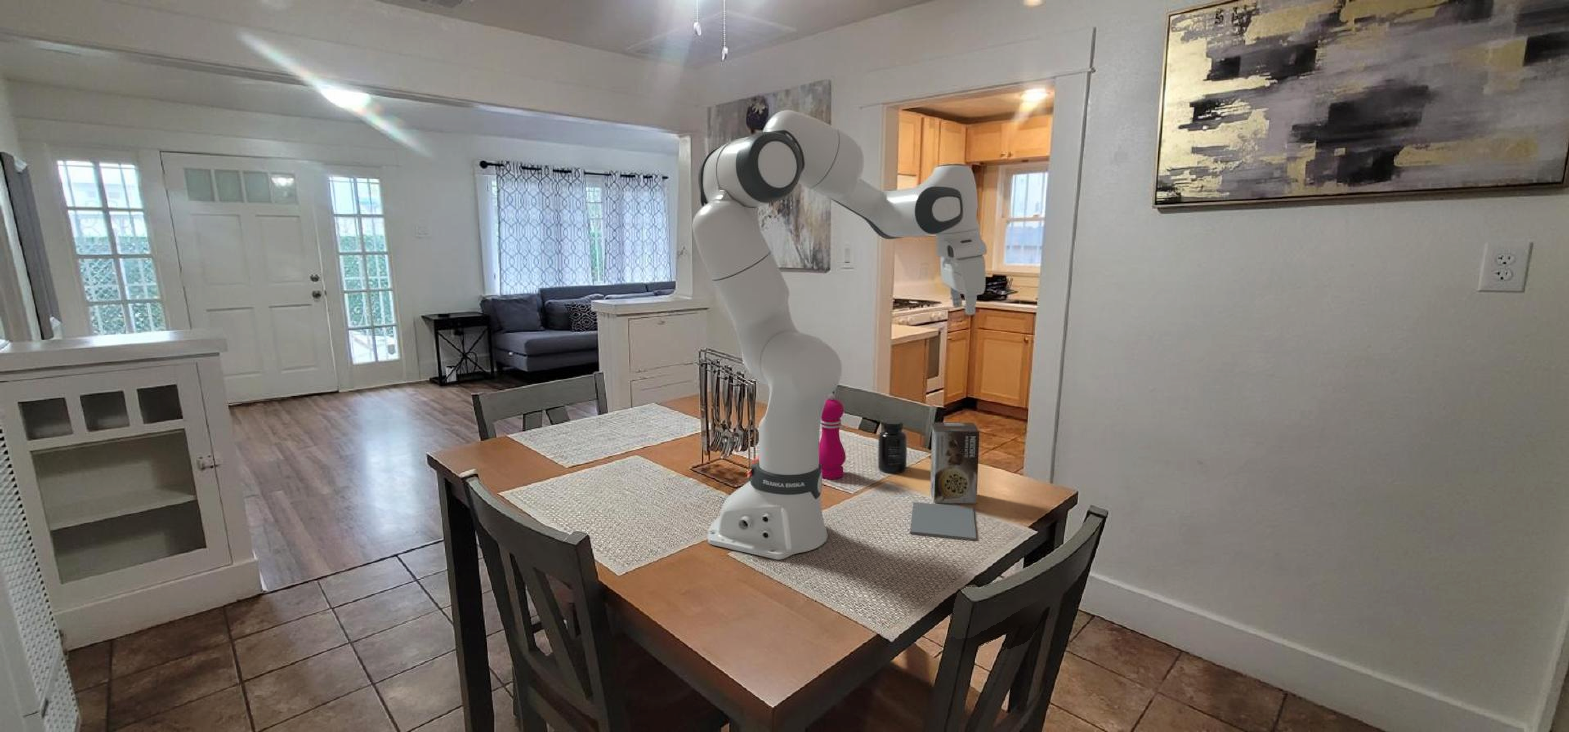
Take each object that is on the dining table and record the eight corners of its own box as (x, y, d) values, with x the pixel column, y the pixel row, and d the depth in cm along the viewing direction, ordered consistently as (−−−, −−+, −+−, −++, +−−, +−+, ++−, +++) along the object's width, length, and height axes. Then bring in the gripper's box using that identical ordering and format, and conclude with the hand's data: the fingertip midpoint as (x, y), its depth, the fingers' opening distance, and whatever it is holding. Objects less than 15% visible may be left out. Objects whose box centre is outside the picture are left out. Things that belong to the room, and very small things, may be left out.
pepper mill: (810, 471, 151) (810, 390, 147) (838, 467, 153) (839, 388, 149) (821, 481, 144) (821, 397, 140) (850, 478, 146) (851, 395, 142)
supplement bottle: (910, 467, 153) (912, 420, 151) (899, 476, 147) (901, 427, 145) (884, 462, 157) (885, 416, 154) (873, 470, 151) (874, 422, 149)
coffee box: (971, 492, 137) (974, 422, 134) (977, 504, 131) (981, 430, 128) (928, 491, 138) (931, 421, 135) (932, 503, 132) (935, 429, 129)
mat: (909, 533, 118) (910, 531, 118) (913, 504, 132) (913, 501, 131) (976, 540, 115) (976, 538, 115) (972, 509, 129) (972, 507, 129)
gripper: (931, 244, 139) (936, 304, 143) (956, 251, 120) (962, 321, 123) (959, 239, 139) (964, 300, 143) (989, 246, 120) (994, 316, 123)
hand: (963, 310), depth 133 cm, fingers open, 8 cm apart
